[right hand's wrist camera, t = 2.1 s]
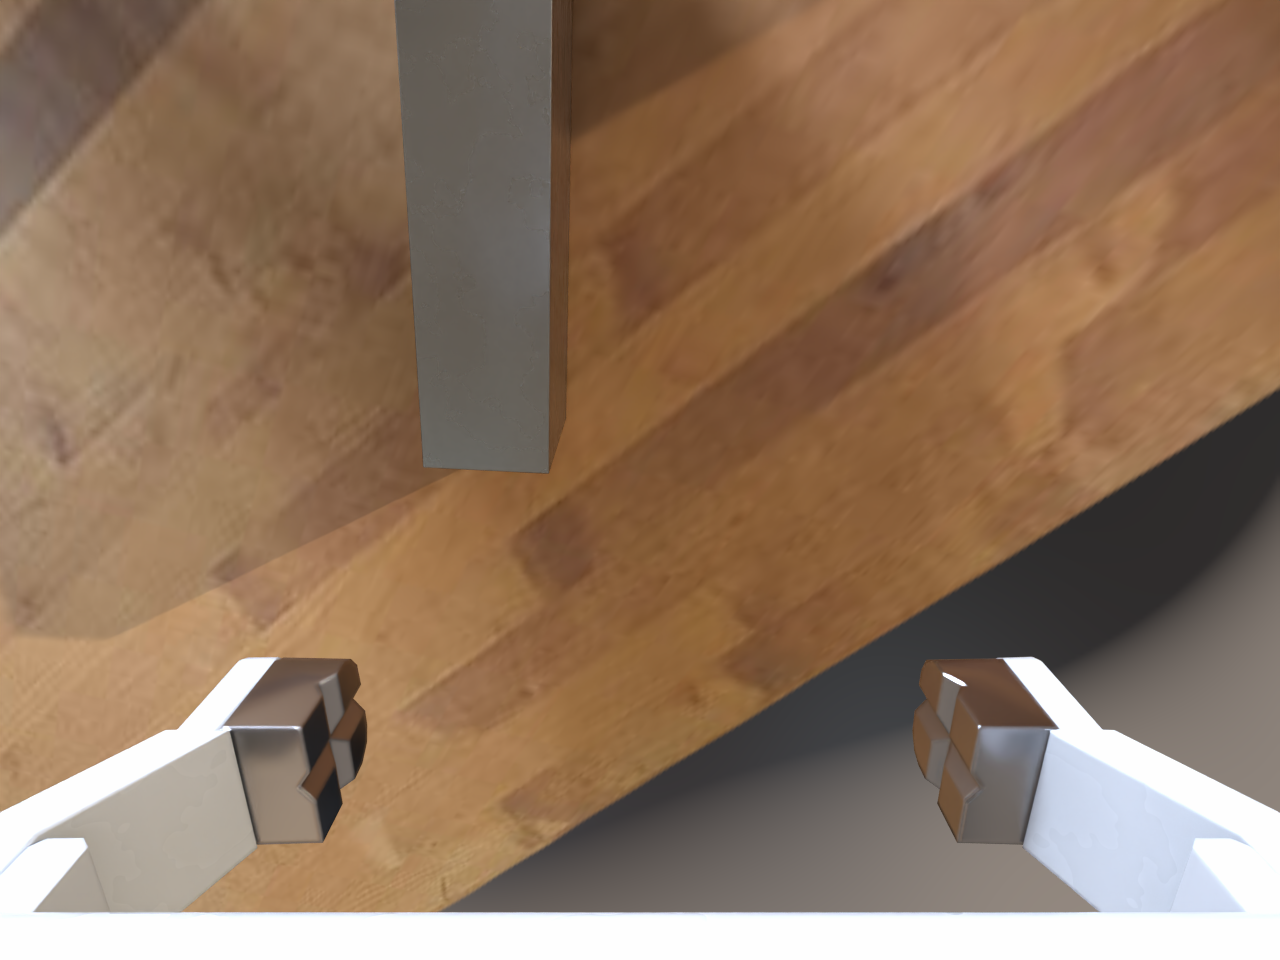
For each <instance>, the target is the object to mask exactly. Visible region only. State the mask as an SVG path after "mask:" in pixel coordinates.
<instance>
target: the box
mask: <svg viewBox="0 0 1280 960" xmlns="http://www.w3.org/2000/svg"><path fill="white" fill-rule="evenodd" d="M394 2H395V18H396V35H397V51H398V67H399V83H400V99H401V115H402V131H403V148H404V164H405V180H406V196H407V212H408V228H409V244H410V261H411V277H412V293H413V309H414V325H415V341H416V357H417V374H418V390H419V406H420V422H421V438H422V454H423V467H425V468H445V469H466V470H486V471H506V472H526V473H546V474H548V473H549V471H550V468H551V465H552V461H553V458H554V455H555V452H556V449H557V445H558V442H559V439H560V436H561V432H562V429H563V426H564V423H565V420H566V384H567V323H568V261H569V199H570V137H571V75H572V13H573V0H394Z"/></svg>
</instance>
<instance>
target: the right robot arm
mask: <svg viewBox="0 0 1280 960" xmlns="http://www.w3.org/2000/svg"><path fill="white" fill-rule="evenodd" d="M360 685H361V683H360V678H359V673H358V668H357V664H356V663H354V662H353V661H352V660H351V659H328V658H279V657H252V658H246V659H242V660H239V661H238V662H237V664H236V665H235V666H234V667H233V668H232V669H231V670H230V671H229V673H228V674H227V675H226V676H225V677H224V678H223V679H222V680H221V682H220V683H219V684H218V685H217V686H216V687H215V688H214V689H213V691H212V692H211V693H210V694H209V695H208V696H207V697H206V698H205V700H204V701H203V702H202V703H201V704H200V705H199V706H198V707H197V709H196V710H195V711H194V712H193V713H192V714H191V715H190V716H189V717H188V719H187V720H186V721H185V722H184V723H183V724H182V725H181V726H180V728H179V729H178V730H165V731H163V732H161V733H159V734H157V735H155V736H153V737H151V738H149V739H147V740H145V741H143V742H141V743H139V744H137V745H135V746H133V747H131V748H129V749H127V750H125V751H123V752H121V753H119V754H117V755H115V756H113V757H111V758H109V759H107V760H105V761H103V762H101V763H99V764H97V765H95V766H93V767H91V768H89V769H87V770H85V771H83V772H81V773H79V774H77V775H75V776H73V777H71V778H69V779H67V780H65V781H63V782H61V783H59V784H57V785H55V786H53V787H51V788H49V789H47V790H45V791H43V792H41V793H39V794H37V795H34V796H32V797H30V798H28V799H26V800H24V801H22V802H20V803H18V804H16V805H14V806H12V807H10V808H8V809H6V810H4V811H2V812H0V960H1280V813H1279V812H1277V811H1275V810H1273V809H1271V808H1269V807H1267V806H1265V805H1263V804H1261V803H1259V802H1257V801H1255V800H1253V799H1251V798H1249V797H1247V796H1245V795H1243V794H1241V793H1239V792H1237V791H1235V790H1233V789H1231V788H1229V787H1227V786H1225V785H1223V784H1221V783H1219V782H1217V781H1215V780H1213V779H1211V778H1209V777H1207V776H1205V775H1203V774H1201V773H1199V772H1197V771H1195V770H1193V769H1191V768H1189V767H1187V766H1185V765H1183V764H1181V763H1179V762H1177V761H1175V760H1173V759H1171V758H1169V757H1167V756H1165V755H1163V754H1161V753H1159V752H1157V751H1155V750H1153V749H1151V748H1149V747H1147V746H1145V745H1143V744H1141V743H1139V742H1137V741H1135V740H1133V739H1131V738H1129V737H1127V736H1125V735H1123V734H1121V733H1119V732H1117V731H1115V730H1102V729H1101V728H1100V727H1099V725H1098V724H1097V723H1096V722H1095V721H1094V720H1093V719H1092V718H1091V716H1090V715H1089V714H1088V713H1087V712H1086V711H1085V710H1084V709H1083V707H1082V706H1081V705H1080V704H1079V703H1078V702H1077V701H1076V700H1075V698H1074V697H1073V696H1072V695H1071V694H1070V693H1069V692H1068V691H1067V689H1066V688H1065V687H1064V686H1063V685H1062V684H1061V683H1060V682H1059V680H1058V679H1057V678H1056V677H1055V676H1054V675H1053V674H1052V673H1051V671H1050V670H1049V669H1048V668H1047V667H1046V666H1045V665H1044V664H1043V663H1042V661H1040V660H1038V659H1036V658H1034V657H1016V658H997V659H956V660H955V659H954V660H926V662H925V664H924V666H923V668H922V671H921V677H920V682H919V685H920V687H921V689H922V690H923V692H924V694H925V696H926V698H927V699H926V700H925V701H924V702H923V703H922V704H921V705H920V706H919V707H918V708H917V709H916V710H915V715H914V723H913V741H914V751H915V754H916V758H917V761H918V765H919V767H920V769H921V771H922V773H923V775H924V777H925V779H926V780H928V781H929V782H930V783H932V784H933V785H935V786H936V787H937V788H939V789H940V791H939V797H938V806H939V808H940V810H941V812H942V814H943V816H944V817H945V819H946V821H947V823H948V825H949V827H950V829H951V831H952V833H953V835H954V837H955V839H956V841H957V843H986V844H1022V845H1023V848H1024V849H1025V850H1026V851H1027V852H1028V853H1030V854H1031V855H1032V856H1033V857H1034V858H1035V859H1037V860H1038V861H1039V862H1040V863H1041V864H1043V865H1044V866H1045V867H1046V868H1047V869H1049V870H1050V871H1051V872H1052V873H1053V874H1055V875H1056V876H1057V877H1058V878H1059V879H1061V880H1062V881H1063V882H1064V883H1065V884H1067V885H1068V886H1069V887H1070V888H1071V889H1072V890H1074V891H1075V892H1076V893H1077V894H1079V895H1080V896H1081V897H1082V898H1083V899H1084V900H1086V901H1087V902H1088V903H1089V904H1090V905H1092V906H1093V907H1094V908H1095V909H1096V910H1098V911H1099V912H1063V913H1062V912H1050V913H1049V912H640V913H639V912H637V913H636V912H635V913H634V912H633V913H631V912H630V913H484V912H483V913H482V912H481V913H479V912H476V913H475V912H474V913H472V912H467V913H463V912H462V913H460V912H457V913H456V912H453V913H452V912H450V913H448V912H447V913H446V912H181V911H183V910H184V909H185V908H186V907H187V906H189V905H190V904H191V903H192V902H193V901H195V900H196V899H197V898H198V897H199V896H201V895H202V894H203V893H204V892H205V891H207V890H208V889H209V888H210V887H211V886H213V885H214V884H215V883H216V882H217V881H219V880H220V879H221V878H222V877H223V876H225V875H226V874H227V873H228V872H229V871H230V870H232V869H233V868H234V867H235V866H236V865H238V864H239V863H240V862H241V861H242V860H244V859H245V858H246V857H247V856H248V855H250V854H251V853H252V852H253V851H254V850H256V849H257V845H259V844H293V843H323V841H324V839H325V837H326V835H327V833H328V831H329V829H330V827H331V825H332V824H333V822H334V820H335V818H336V816H337V814H338V812H339V810H340V808H341V806H342V804H343V803H342V797H341V791H340V789H341V788H343V787H344V786H345V785H347V784H348V783H350V782H351V781H352V780H354V779H355V777H356V775H357V773H358V771H359V769H360V767H361V765H362V762H363V758H364V753H365V748H366V744H367V721H366V714H365V710H364V709H363V708H362V707H361V706H360V705H359V704H358V703H357V702H356V701H355V700H354V699H353V698H354V696H355V694H356V692H357V690H358V689H359V687H360Z"/></svg>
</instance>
